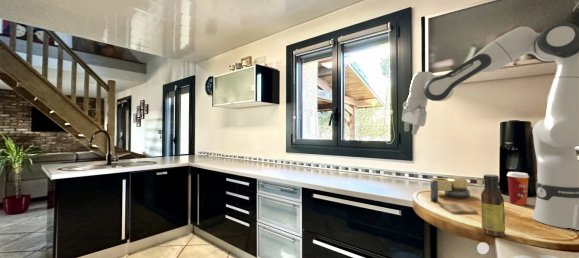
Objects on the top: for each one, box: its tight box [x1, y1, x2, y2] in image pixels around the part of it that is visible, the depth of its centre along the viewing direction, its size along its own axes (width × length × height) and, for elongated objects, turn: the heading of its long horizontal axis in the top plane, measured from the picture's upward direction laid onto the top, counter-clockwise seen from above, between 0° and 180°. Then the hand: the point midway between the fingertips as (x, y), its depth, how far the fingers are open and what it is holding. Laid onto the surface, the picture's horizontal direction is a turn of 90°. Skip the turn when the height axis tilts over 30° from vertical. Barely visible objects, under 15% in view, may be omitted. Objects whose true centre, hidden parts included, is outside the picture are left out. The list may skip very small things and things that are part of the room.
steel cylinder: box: [430, 180, 439, 203], centre depth 122 cm, size 3×3×10 cm
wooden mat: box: [439, 203, 478, 215], centre depth 110 cm, size 10×10×1 cm
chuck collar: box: [429, 177, 468, 192], centre depth 131 cm, size 16×9×5 cm, turn 86°
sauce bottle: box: [480, 173, 506, 237], centre depth 86 cm, size 7×6×20 cm
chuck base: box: [443, 188, 471, 199], centre depth 131 cm, size 11×11×3 cm
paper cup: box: [506, 171, 530, 206], centre depth 116 cm, size 8×8×14 cm
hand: (409, 132), depth 126 cm, fingers open, 8 cm apart
